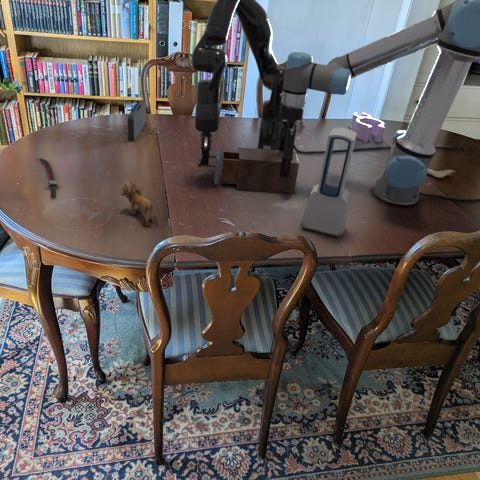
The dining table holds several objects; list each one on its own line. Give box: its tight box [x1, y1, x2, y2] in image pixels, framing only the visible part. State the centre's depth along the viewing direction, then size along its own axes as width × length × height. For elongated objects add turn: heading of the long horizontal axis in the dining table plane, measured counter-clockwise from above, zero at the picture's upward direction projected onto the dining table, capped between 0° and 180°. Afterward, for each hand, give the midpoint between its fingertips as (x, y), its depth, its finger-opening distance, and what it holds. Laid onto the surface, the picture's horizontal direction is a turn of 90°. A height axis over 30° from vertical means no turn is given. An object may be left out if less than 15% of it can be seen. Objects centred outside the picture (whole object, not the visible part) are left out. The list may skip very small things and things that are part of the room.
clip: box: [349, 112, 386, 143], centre depth 214 cm, size 20×12×7 cm, turn 11°
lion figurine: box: [119, 181, 159, 227], centre depth 134 cm, size 15×5×9 cm, turn 50°
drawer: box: [197, 148, 239, 186], centre depth 158 cm, size 24×9×9 cm, turn 91°
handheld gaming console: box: [127, 99, 147, 141], centre depth 190 cm, size 23×3×10 cm, turn 178°
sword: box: [40, 158, 59, 198], centre depth 151 cm, size 31×3×1 cm, turn 26°
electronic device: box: [300, 127, 357, 237], centre depth 132 cm, size 12×8×30 cm, turn 71°
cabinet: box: [235, 147, 300, 194], centre depth 159 cm, size 20×10×11 cm, turn 91°
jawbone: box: [426, 167, 456, 179], centre depth 185 cm, size 9×20×2 cm, turn 50°
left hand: (205, 165), depth 157 cm, fingers closed
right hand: (282, 170), depth 159 cm, fingers closed on cabinet, 10 cm apart
